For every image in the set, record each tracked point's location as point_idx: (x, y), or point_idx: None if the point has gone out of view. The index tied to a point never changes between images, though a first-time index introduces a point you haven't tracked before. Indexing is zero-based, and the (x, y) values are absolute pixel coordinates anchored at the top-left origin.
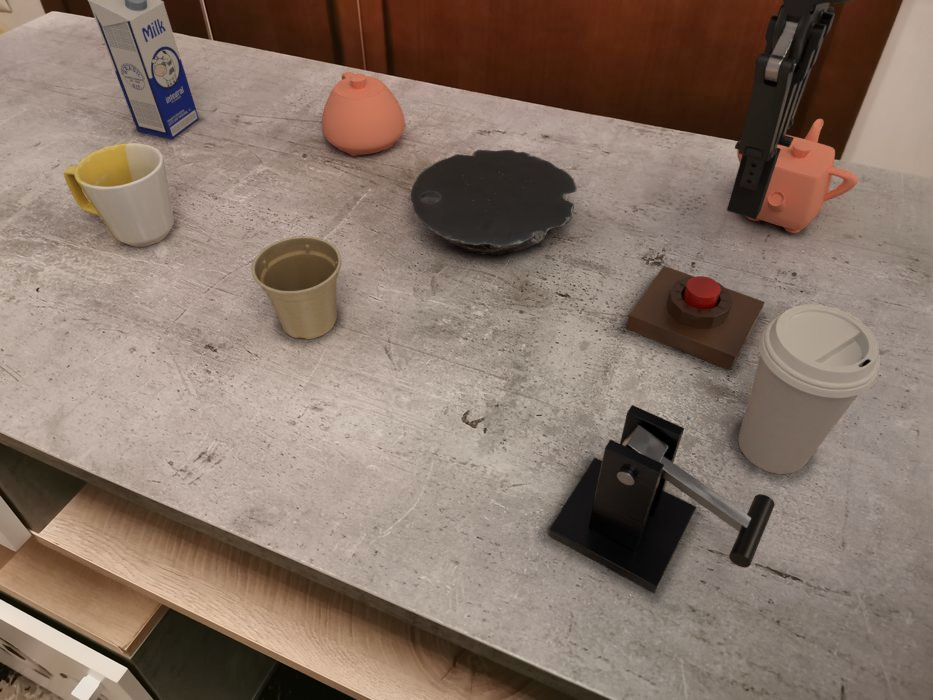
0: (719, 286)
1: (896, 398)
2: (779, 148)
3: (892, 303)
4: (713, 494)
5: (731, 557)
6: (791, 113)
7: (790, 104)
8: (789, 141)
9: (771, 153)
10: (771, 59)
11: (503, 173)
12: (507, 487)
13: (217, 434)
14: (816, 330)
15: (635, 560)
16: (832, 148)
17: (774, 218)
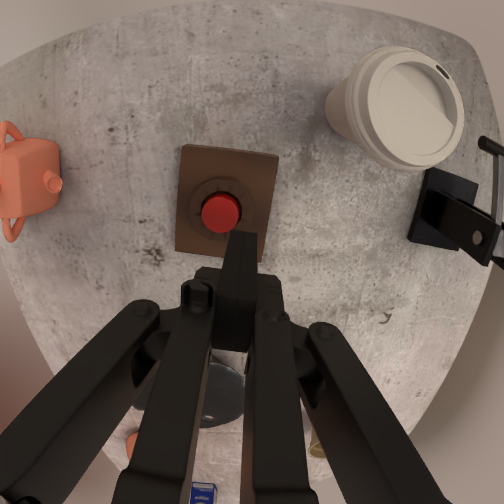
0: (211, 200)
1: (248, 17)
2: (217, 297)
3: (117, 41)
4: (499, 184)
5: None
6: (179, 350)
7: (254, 409)
8: (206, 292)
9: (331, 334)
10: None
11: (149, 392)
12: (429, 280)
13: (406, 398)
14: (409, 117)
15: (468, 199)
16: None
17: (57, 172)
